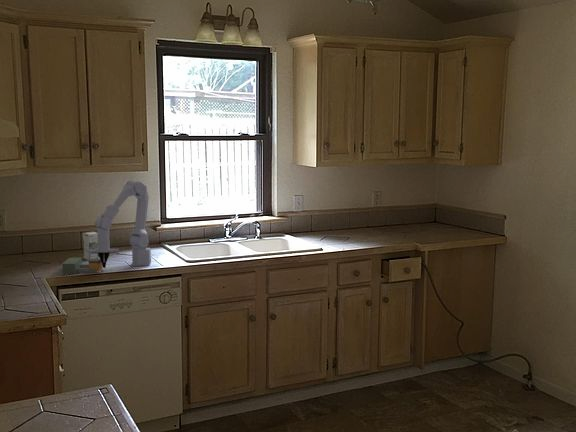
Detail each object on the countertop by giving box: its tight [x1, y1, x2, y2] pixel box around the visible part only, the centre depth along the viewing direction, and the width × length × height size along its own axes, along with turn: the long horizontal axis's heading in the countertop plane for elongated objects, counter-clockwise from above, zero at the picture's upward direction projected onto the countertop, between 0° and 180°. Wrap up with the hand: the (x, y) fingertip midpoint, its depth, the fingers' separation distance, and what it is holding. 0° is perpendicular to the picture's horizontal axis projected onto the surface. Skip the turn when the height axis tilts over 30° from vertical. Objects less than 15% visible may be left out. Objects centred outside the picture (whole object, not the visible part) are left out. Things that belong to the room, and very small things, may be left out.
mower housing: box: [61, 257, 98, 275], centre depth 305 cm, size 16×14×5 cm
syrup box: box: [82, 231, 99, 261], centre depth 331 cm, size 6×6×14 cm
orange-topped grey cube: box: [88, 258, 104, 272], centre depth 307 cm, size 5×5×5 cm
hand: (104, 267), depth 306 cm, fingers closed
